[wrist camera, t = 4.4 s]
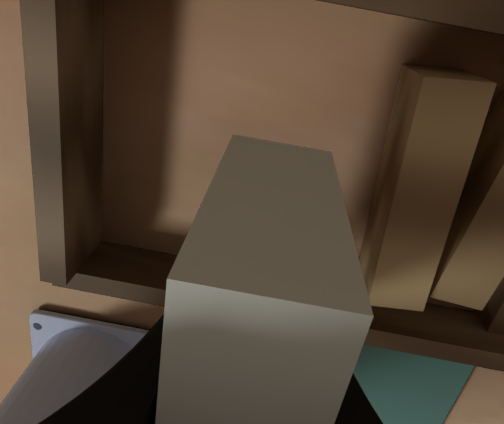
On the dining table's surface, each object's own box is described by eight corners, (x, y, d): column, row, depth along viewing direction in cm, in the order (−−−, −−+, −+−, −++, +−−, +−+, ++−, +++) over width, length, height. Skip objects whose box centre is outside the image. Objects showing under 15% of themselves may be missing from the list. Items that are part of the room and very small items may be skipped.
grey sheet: (276, 366, 17) (266, 608, 10) (202, 353, 17) (142, 585, 10) (331, 151, 13) (373, 316, 6) (233, 134, 13) (166, 279, 6)
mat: (405, 476, 29) (407, 485, 29) (277, 451, 29) (276, 460, 29) (475, 348, 24) (480, 356, 23) (318, 318, 24) (318, 326, 23)
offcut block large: (405, 268, 22) (423, 311, 19) (356, 262, 22) (367, 305, 19) (461, 68, 18) (497, 83, 15) (400, 63, 18) (423, 76, 15)
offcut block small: (459, 273, 22) (481, 310, 19) (413, 261, 22) (429, 297, 19) (556, 104, 18) (602, 122, 15) (500, 89, 18) (536, 104, 15)
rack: (486, 329, 23) (521, 389, 20) (80, 252, 23) (41, 297, 20) (649, 32, 16) (748, 41, 13) (73, -75, 16) (12, -97, 13)
